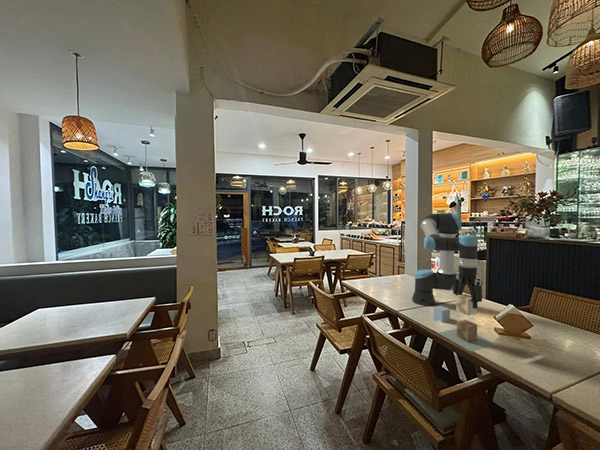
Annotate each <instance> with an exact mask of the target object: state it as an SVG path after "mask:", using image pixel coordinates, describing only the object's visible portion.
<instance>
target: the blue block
mask: <svg viewBox="0 0 600 450" xmlns="http://www.w3.org/2000/svg"><path fill="white" fill-rule="evenodd" d="M433 321H435V322H438V321H439V322H440V323H444V322H450V321H451V309H450V308H448V307H447V306H443V305H438V306H437V305H436V306H433Z"/></svg>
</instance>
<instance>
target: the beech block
mask: <svg viewBox="0 0 600 450" xmlns="http://www.w3.org/2000/svg"><path fill="white" fill-rule="evenodd" d="M471 301H472V298H471V294H470V295H469V294H467V293H465V294H463V293H462V295H457V296H456V305H455V306H456V308H455V311H457V312H458V313H460V314H462V315H465V316H472V315H471V314H470V302H471ZM477 310H478V307H477V308H476V314H475V315H477V313H478V311H477Z"/></svg>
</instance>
